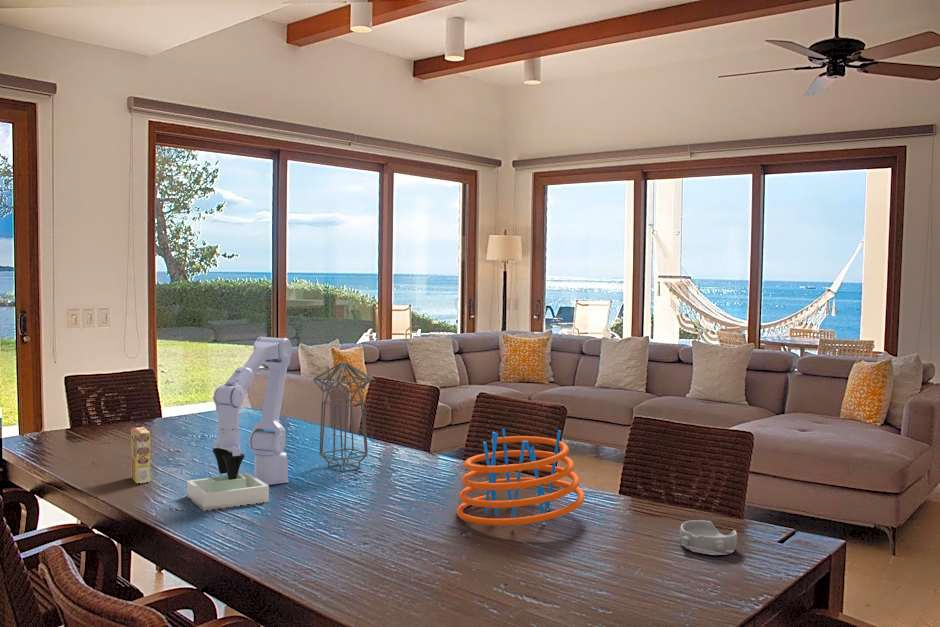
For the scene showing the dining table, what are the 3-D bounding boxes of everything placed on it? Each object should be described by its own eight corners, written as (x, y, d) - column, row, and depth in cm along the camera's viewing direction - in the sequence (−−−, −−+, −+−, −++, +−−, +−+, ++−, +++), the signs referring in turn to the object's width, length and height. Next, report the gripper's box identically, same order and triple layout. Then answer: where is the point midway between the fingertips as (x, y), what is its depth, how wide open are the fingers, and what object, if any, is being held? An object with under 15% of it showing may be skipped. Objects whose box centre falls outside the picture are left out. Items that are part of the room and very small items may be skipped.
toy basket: (500, 550, 197) (492, 452, 196) (435, 519, 227) (428, 434, 226) (612, 520, 214) (605, 429, 213) (537, 495, 244) (531, 416, 243)
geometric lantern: (336, 476, 257) (335, 366, 256) (310, 467, 269) (310, 362, 268) (377, 468, 268) (377, 362, 266) (351, 460, 280) (350, 358, 278)
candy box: (150, 482, 243) (151, 431, 243) (135, 484, 241) (136, 433, 240) (144, 476, 251) (144, 426, 250) (129, 477, 248) (130, 427, 248)
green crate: (239, 491, 234) (239, 473, 233) (246, 495, 229) (246, 478, 229) (207, 495, 228) (208, 477, 228) (214, 500, 224) (214, 482, 224)
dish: (692, 535, 210) (693, 516, 210) (745, 548, 201) (746, 528, 201) (667, 549, 199) (668, 529, 198) (722, 563, 190) (723, 542, 190)
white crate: (248, 488, 241) (249, 473, 240) (268, 501, 227) (269, 485, 227) (186, 496, 230) (186, 480, 230) (203, 511, 217) (203, 494, 217)
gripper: (206, 424, 231) (205, 472, 232) (222, 434, 220) (222, 484, 220) (230, 422, 235) (230, 469, 236) (248, 431, 224) (247, 480, 224)
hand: (227, 476), depth 229 cm, fingers open, 7 cm apart
